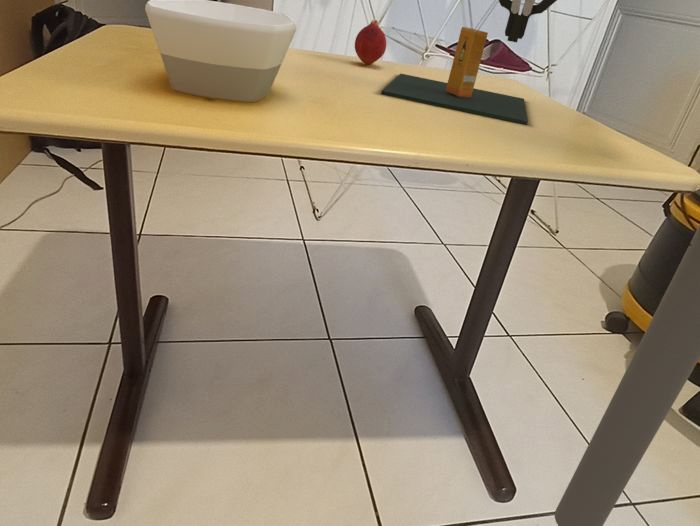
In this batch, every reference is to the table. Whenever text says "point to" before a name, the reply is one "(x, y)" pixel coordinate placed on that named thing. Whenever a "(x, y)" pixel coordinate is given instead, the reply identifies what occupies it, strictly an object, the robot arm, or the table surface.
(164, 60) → the bowl
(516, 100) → the mat
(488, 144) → the table surface
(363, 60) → the onion
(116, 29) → the table surface
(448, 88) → the supplement box
